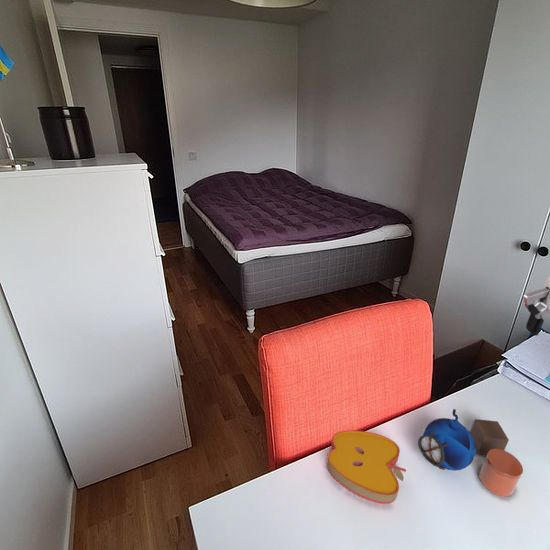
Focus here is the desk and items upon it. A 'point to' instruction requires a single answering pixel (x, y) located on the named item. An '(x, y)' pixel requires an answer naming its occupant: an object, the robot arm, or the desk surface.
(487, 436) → the walnut block
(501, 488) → the terracotta pot
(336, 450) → the decorative object
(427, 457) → the bomb
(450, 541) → the desk surface
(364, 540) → the desk surface
